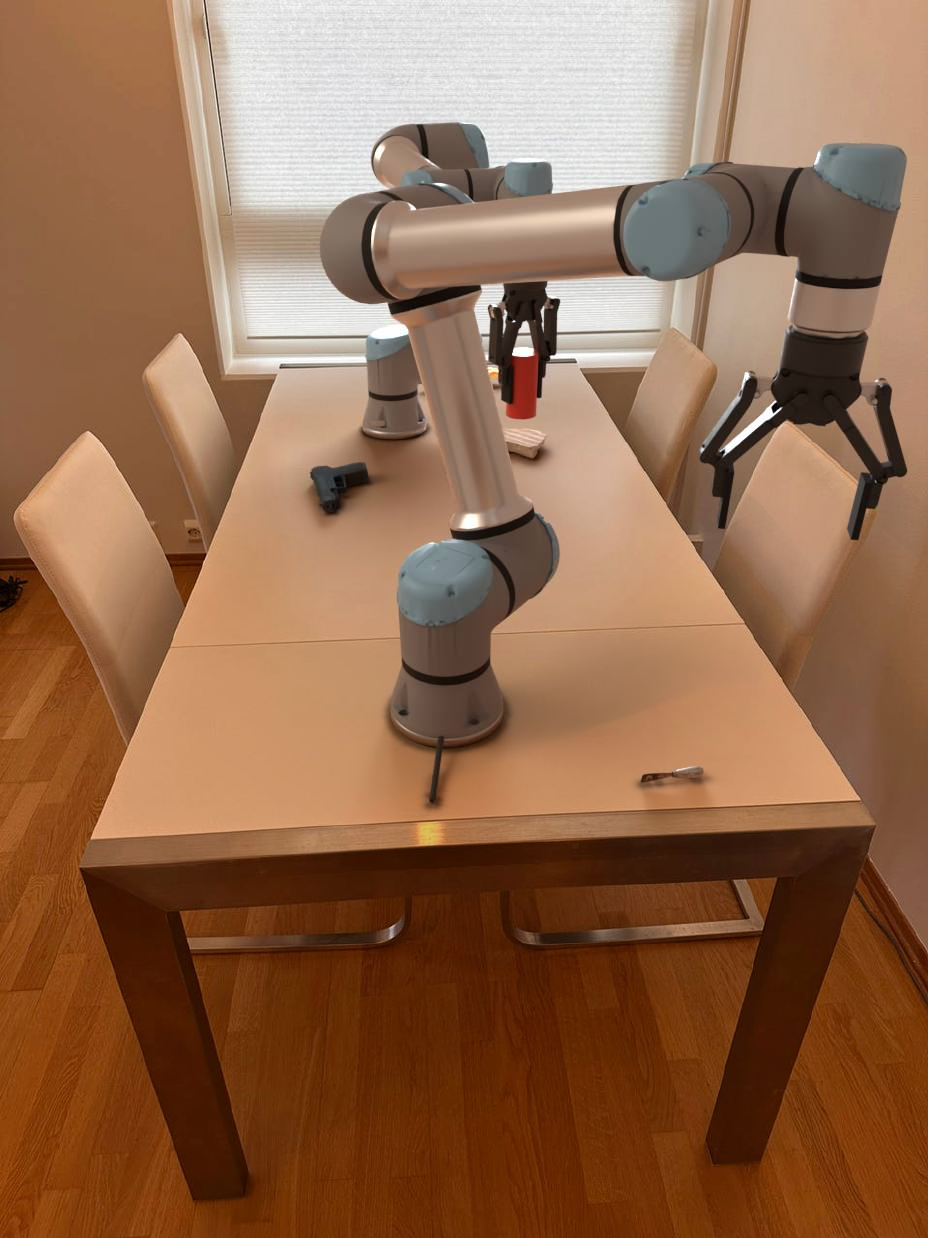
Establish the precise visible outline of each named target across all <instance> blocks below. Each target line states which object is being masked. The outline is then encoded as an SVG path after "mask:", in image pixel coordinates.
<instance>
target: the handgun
mask: <svg viewBox="0 0 928 1238" xmlns="http://www.w3.org/2000/svg"><path fill="white" fill-rule="evenodd" d="M309 475H310V476H309V478H310V479H311V480H312V481H313V484H314V488H315V490H316V493H317V496H318V498H319V502H320V503H319V504H317V505H318V507H320V508H322V511H324V513H326V514H330V513H336V510H337V508H338V509H340V508H341V501H340V496H339V495H341V494H346V493H347V492H348V490H347V489H348V488H347V487H351V486H355V485H359V484H363V483H369V470H368V465H367V463H366V462H363V461H358V462H352V463H348V464H344V465H340V466H337V467H331V466H329V465H318V466H314V467H313V468H311V470H310V471H309Z"/></svg>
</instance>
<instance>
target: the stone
mask: <svg viewBox="0 0 928 1238" xmlns="http://www.w3.org/2000/svg"><path fill="white" fill-rule="evenodd" d="M502 428H503V432H504V436H505V440H506V444H507V448H508V452H511V453H516V454H518V455H521V456H524V457H527V458H529V459H534V458H535V457H536V456H537V455H538V450H539V449H540V448H541V447H542V445H544V444H545V441H546V439H547V435H546V434H545V433H542V432H541V430H540V429H538V430H537V429H531V428H522V427H520V428H509V427H508V428H506V427H505V428H504V427H502Z"/></svg>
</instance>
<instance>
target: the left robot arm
mask: <svg viewBox="0 0 928 1238" xmlns="http://www.w3.org/2000/svg"><path fill="white" fill-rule="evenodd" d="M370 165H371V170H372V173H373V175H374V177H375V178H376V179H377V181H378V182H379V183H380V184H381V185H382V186H384V187H385V188H386V189H393V188H399V187H404V186H409V185H412V184H419V183H422V182H424V183H442V184H448V185H451V186H453V187H456V188H457V189H459V190H460V191H461V192H463V193H465V194H466V195H467V196H468V197H469V198H470V199H471V200H472V201H473V202H474V203H475V202H484V201H493V200H501V199H510V198H519V197H528V196H536V195H545V194H553V189H554V183H553V166H552V164H551V162H549V161H548V160H546V159H540V158H539V159H538V158H516V159H512V160H511V159H510V160H509V161H508V162H506V164H505V165H502V164H500V165H495V166H493V167H491V163H490V154H489V148H488V143H487V140H486V136H485V134H484V132H483V130H482V128H481V127H480V126H479V125H477V124H476V123H470V122H460V121H454V122H453V121H452V122H430V123H429V122H428V123H406V124H401V125H398V126H395V127H392V128H390V129H389V130H387V131H386V132H384V133H382V135H381V136H380V137H379V138H377V141H376V142H375V143H374V145H373V147H372V150H371V155H370ZM548 282H549V281H537V282H521V283H504V284H502V287H503V295H502V298H501V301H500V302H498V303H496V304H492V303H490V304H489V305H488V306H487V312H488V316H489V335H488V354H487V356H488V357H487V361H488V362H489V363H491V364H492V365H495V366H497V369H498V377H497V382H498V384H499V385H500V386H501V387H500V389H501V391H500V392H501V393H500V401H502V402H504V403H505V404H506V403H508V404H513V377H514V367H512V366H510V363H511V359H512V355H513V351H514V348H516V343H517V339H518V335H519V331H520V329H521V328H522V326H523V323H525V322H526V323H527V324H528V328H529V334H530V338H531V343H532V349H535V350H537V351H538V352H539V358H538V382H537V399H541V398H542V396H543V379H544V378H546V375H547V372H546V371H547V363H549V362H550V361H551V359H552V357H554V356H556V355H557V349H558V311H559V308H560V306H561V299H560V298H558V297H556V296H553V295H548V294H547V291H546V289H547V287H548ZM543 307H544V309H543ZM542 310H543V315H542ZM505 311H506V313H505ZM504 316H505V320H504ZM504 324H505V327H504ZM479 333H480V337H481V341H482V342H483V336H482V332H481V331H480V330H479ZM551 356H552V357H551ZM364 358H365V361H366V375H367V390H368V391H367V392H368V399H367V403H366V407H365V411H364V415H363V417H362V418H363V419H362V431H363V433H365V435H367V436H370V437H373V438H376V439H383V440H402V439H403V440H404V439H409V438H413V437H417V436H419V435H421V434H423V433H424V432H425V431H426V430H427V419H426V414H425V412H424V409H423V407H422V404H421V401H420V399H419V398H420V397H419V388H418V387H419V385H422V381H421V378H420V374H419V370H418V367H417V363H416V359H415V356H414V352H413V348H412V345H411V341H410V337H409V333H408V330H407V328H406V327H405V326H404V325H403V324H394V325H389V326H385V327H382V328H378V329H376V330H374V331H373V332H370V333H369V334H368V336H367V337H366V339H365V354H364Z"/></svg>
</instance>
